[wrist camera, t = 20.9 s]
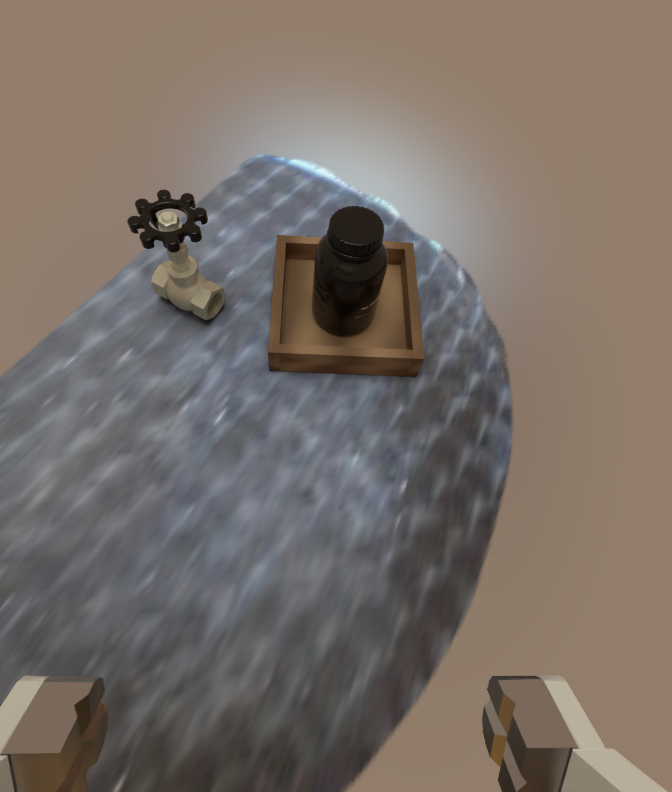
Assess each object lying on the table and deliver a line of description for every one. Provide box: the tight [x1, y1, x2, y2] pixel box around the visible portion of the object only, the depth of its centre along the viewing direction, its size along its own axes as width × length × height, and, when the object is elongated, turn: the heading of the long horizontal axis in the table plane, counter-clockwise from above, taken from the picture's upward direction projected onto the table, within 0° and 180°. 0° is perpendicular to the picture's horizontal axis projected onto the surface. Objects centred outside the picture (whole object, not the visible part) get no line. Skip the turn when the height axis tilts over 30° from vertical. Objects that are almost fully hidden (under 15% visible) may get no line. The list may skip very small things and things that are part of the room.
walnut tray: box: [268, 235, 424, 377], centre depth 52 cm, size 15×15×4 cm
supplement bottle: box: [312, 206, 388, 335], centre depth 47 cm, size 7×7×12 cm
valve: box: [128, 190, 225, 320], centre depth 48 cm, size 7×7×12 cm
